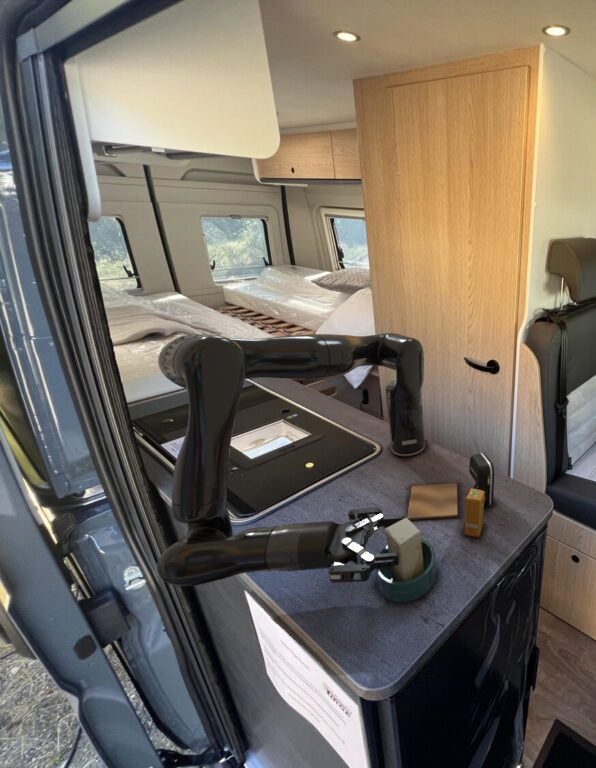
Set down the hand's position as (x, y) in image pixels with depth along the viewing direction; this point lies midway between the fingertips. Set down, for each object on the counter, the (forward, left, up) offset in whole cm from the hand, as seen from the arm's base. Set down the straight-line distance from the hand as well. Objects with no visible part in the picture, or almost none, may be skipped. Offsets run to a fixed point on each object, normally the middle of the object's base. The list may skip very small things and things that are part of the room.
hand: (401, 538), depth 68 cm
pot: (0, 0, -10) cm, 10 cm away
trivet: (-20, +4, -10) cm, 23 cm away
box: (0, 0, -9) cm, 9 cm away
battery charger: (-20, +15, -10) cm, 27 cm away
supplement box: (-10, +13, -10) cm, 19 cm away
